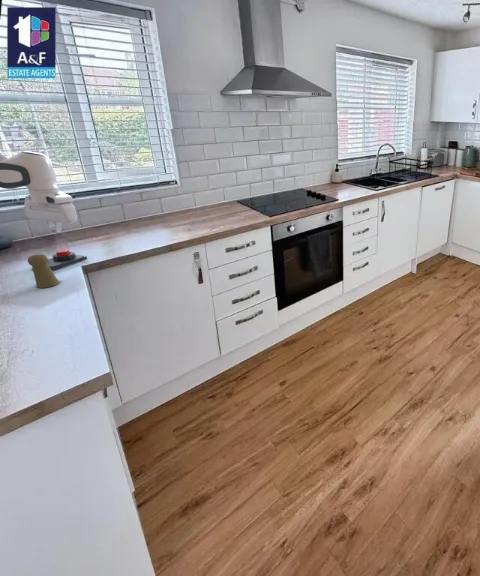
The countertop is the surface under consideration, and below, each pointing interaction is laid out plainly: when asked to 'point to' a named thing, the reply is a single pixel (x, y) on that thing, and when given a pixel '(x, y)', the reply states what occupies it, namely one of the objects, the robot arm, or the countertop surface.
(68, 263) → the dark grey base
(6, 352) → the countertop surface
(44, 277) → the olive brown upright piece
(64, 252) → the power button
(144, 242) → the countertop surface
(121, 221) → the countertop surface
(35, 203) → the robot arm
